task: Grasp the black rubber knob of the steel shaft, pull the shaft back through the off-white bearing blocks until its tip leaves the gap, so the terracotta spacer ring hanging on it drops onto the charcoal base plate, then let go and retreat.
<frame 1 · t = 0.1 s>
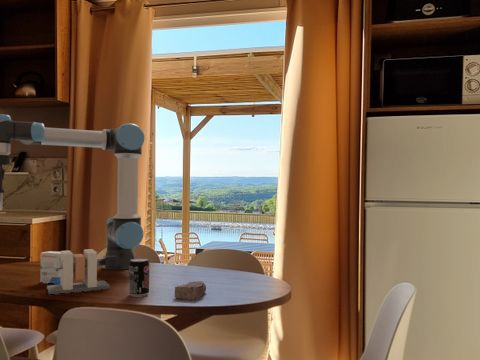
shaft: (88, 263, 154), point 9 cm above the table, slide at 0.0 cm, touching spacer
jig: (78, 288, 152), on the table
spacer: (78, 277, 153), point 4 cm above the table, touching shaft
beverage can: (139, 295, 144), on the table
stone: (190, 297, 143), on the table
ink box: (53, 283, 163), on the table
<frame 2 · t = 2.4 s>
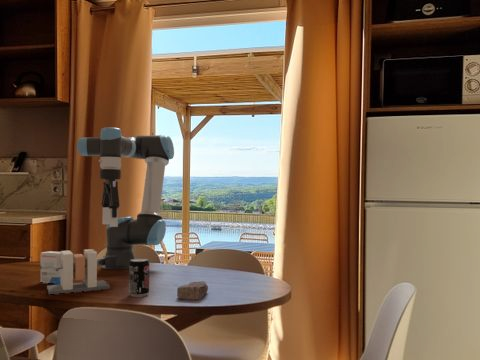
hand: (109, 225, 158), 22 cm above the table, fingers open, 13 cm apart
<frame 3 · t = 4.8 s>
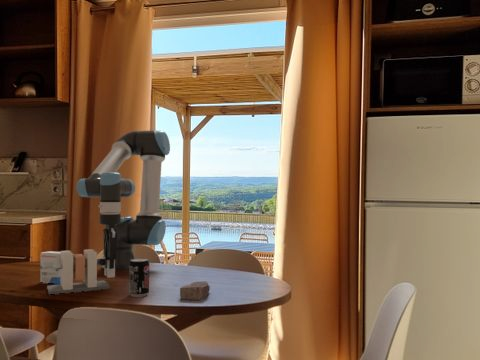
hand: (109, 275, 158), 4 cm above the table, fingers closed on shaft, 4 cm apart
shaft: (88, 263, 154), point 9 cm above the table, slide at 0.0 cm, touching gripper, spacer
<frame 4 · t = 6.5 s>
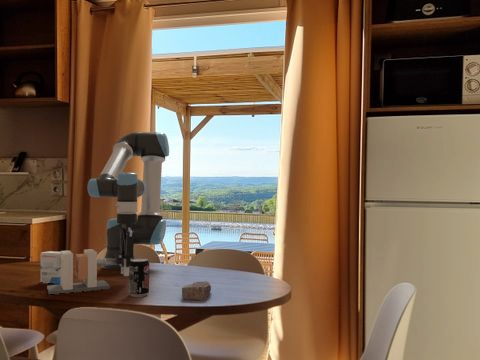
hand: (126, 274, 161), 4 cm above the table, fingers closed on shaft, 4 cm apart
shaft: (105, 261, 157), point 9 cm above the table, slide at 6.0 cm, touching gripper, spacer
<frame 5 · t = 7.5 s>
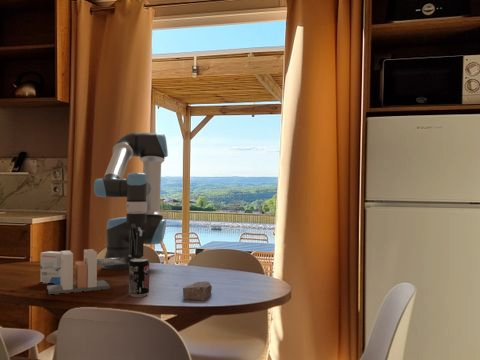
hand: (135, 273, 163), 4 cm above the table, fingers closed on shaft, 4 cm apart
shaft: (115, 261, 159), point 9 cm above the table, slide at 9.5 cm, touching gripper
spacer: (80, 285, 153), point 1 cm above the table, touching jig
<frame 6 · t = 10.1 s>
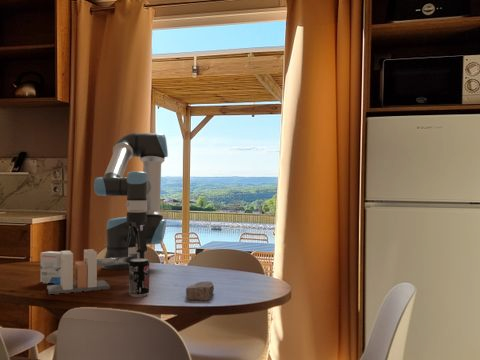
hand: (136, 266, 163), 6 cm above the table, fingers open, 13 cm apart
shaft: (115, 261, 159), point 9 cm above the table, slide at 9.8 cm
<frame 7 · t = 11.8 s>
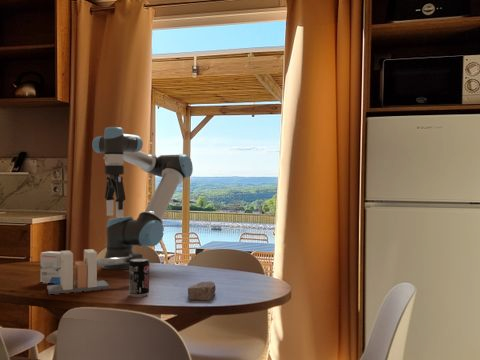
hand: (114, 216, 174), 25 cm above the table, fingers open, 13 cm apart
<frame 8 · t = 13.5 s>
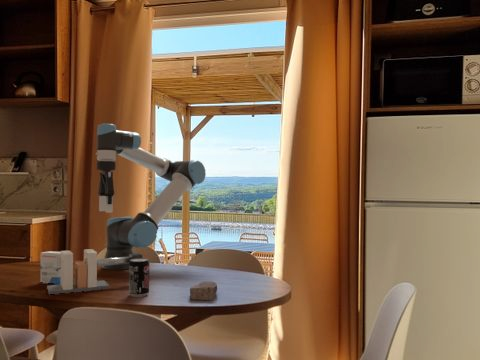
hand: (105, 211, 176), 27 cm above the table, fingers open, 13 cm apart
at the end: shaft slide at 9.8 cm; spacer inside the target area (0.8 cm from its centre), point 1.2 cm above the table; spacer touching jig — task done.
